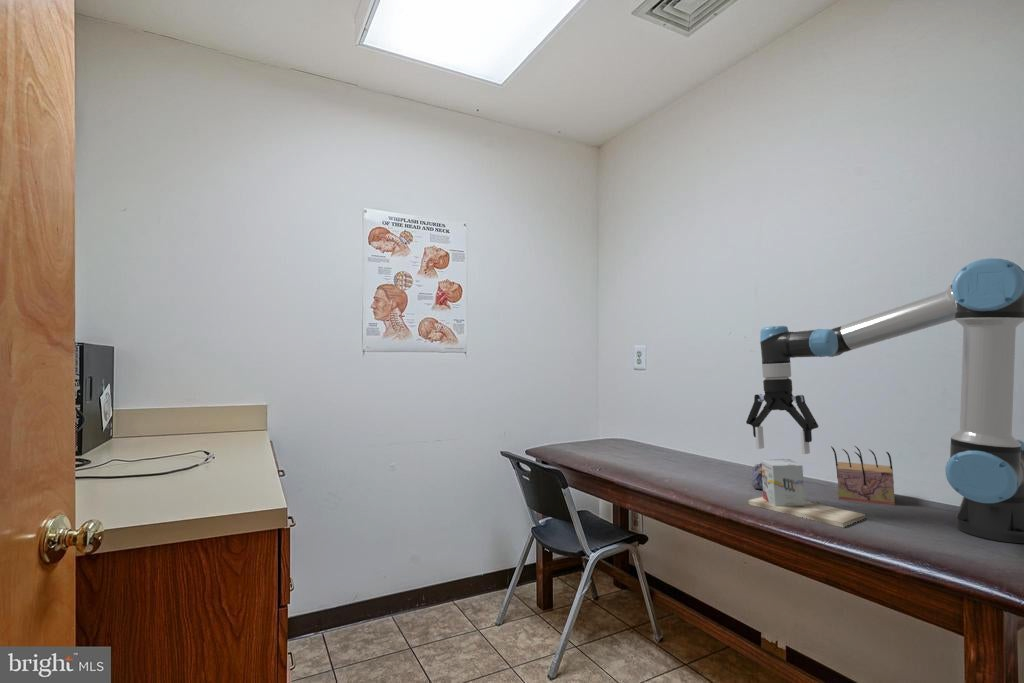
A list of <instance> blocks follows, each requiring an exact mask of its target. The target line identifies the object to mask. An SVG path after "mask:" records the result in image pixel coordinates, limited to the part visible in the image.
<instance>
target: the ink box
mask: <svg viewBox="0 0 1024 683" xmlns="http://www.w3.org/2000/svg"><path fill="white" fill-rule="evenodd" d="M761 463H762V480H763V489H762V496H763V498H764V499H765V500H767V501H768V502H770V503H771V504H773V505H774V506H805V501H806V500H805V488H804V487H805V486H804V485H805V484H804V470H803V465H802V464H801V463H798V462H796V461H794V460H792V459H784V458H778V459H762V460H761Z"/></svg>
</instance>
